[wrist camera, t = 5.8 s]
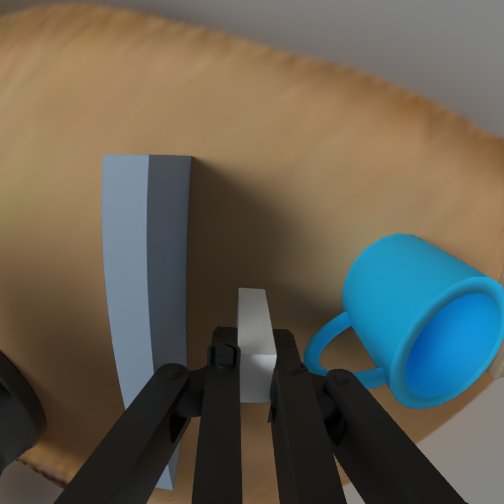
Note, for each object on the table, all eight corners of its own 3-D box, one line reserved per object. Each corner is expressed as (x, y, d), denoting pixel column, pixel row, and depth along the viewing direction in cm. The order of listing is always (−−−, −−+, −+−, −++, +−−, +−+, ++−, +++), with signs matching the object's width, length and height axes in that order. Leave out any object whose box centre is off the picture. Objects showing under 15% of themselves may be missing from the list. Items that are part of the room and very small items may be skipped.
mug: (428, 215, 19) (508, 248, 11) (444, 308, 22) (504, 362, 14) (271, 286, 20) (290, 363, 12) (311, 374, 23) (337, 455, 15)
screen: (144, 392, 22) (116, 479, 14) (134, 154, 17) (54, 156, 9) (188, 397, 23) (172, 490, 14) (191, 156, 18) (149, 154, 9)
